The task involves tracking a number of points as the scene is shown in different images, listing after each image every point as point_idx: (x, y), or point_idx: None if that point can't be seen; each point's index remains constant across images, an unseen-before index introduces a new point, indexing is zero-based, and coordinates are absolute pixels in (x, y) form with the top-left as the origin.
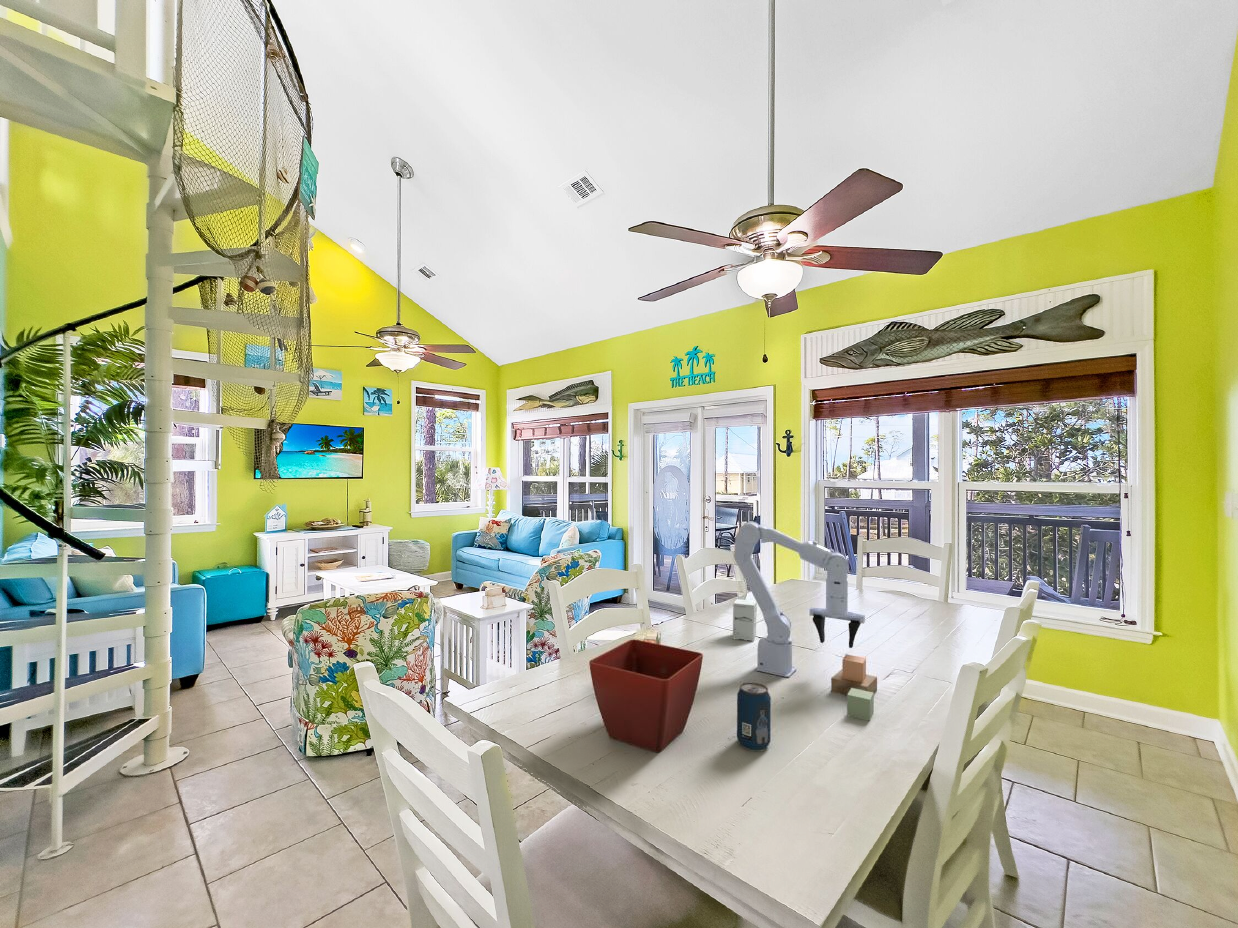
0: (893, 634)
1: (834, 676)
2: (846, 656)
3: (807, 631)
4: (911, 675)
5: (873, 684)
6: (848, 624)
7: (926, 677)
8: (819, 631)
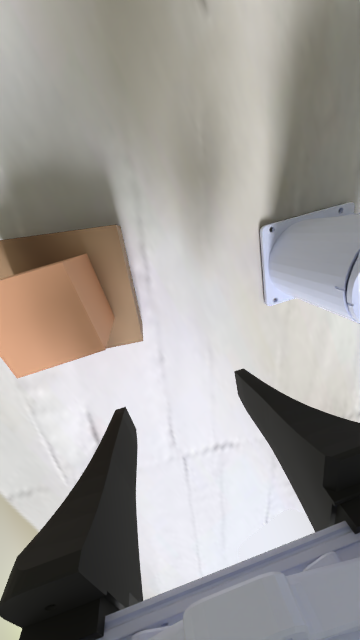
0: (201, 569)
1: (118, 251)
2: (83, 324)
3: None
4: (66, 473)
5: None
6: (80, 558)
7: (40, 486)
8: (277, 398)
